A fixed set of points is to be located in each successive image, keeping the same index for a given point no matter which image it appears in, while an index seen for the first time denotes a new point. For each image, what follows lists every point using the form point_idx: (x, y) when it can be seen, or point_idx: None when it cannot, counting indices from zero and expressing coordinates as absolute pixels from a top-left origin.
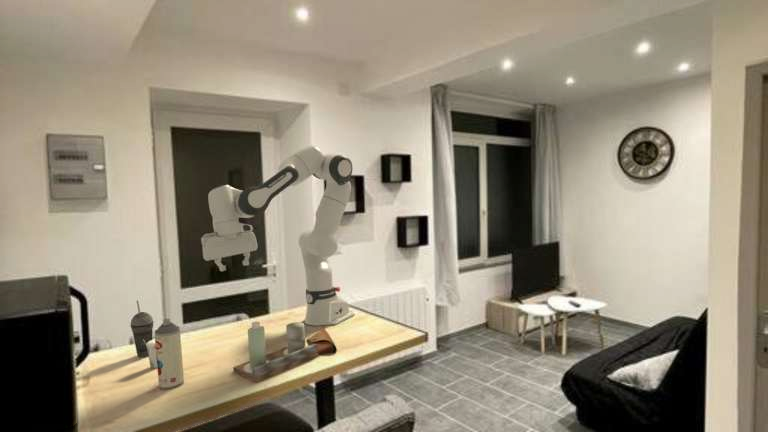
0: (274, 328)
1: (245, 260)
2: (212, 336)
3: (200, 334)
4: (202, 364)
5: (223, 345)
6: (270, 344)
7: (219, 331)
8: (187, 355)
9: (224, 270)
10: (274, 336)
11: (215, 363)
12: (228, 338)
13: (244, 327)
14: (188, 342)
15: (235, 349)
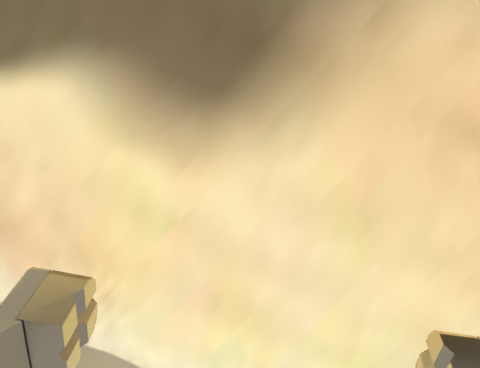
0: (51, 149)
1: (23, 355)
2: (233, 311)
3: (237, 364)
4: (465, 123)
5: (284, 201)
6: (193, 18)
7: (184, 326)
8: (412, 248)
9: (457, 334)
10: (117, 76)
11: (441, 81)
12: (221, 240)
13: (107, 273)
14: (313, 343)
15: (297, 121)
